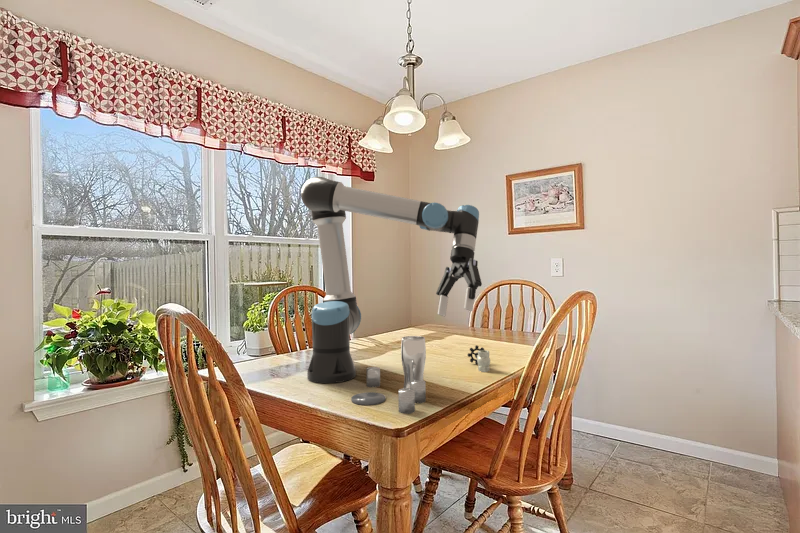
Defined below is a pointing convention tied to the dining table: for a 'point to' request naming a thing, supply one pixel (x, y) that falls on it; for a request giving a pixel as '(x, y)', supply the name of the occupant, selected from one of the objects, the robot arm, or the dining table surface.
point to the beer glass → (413, 358)
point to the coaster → (368, 398)
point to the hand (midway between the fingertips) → (454, 312)
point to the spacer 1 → (373, 376)
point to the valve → (480, 358)
